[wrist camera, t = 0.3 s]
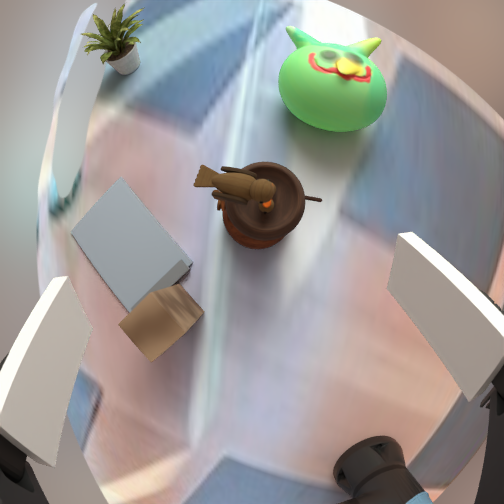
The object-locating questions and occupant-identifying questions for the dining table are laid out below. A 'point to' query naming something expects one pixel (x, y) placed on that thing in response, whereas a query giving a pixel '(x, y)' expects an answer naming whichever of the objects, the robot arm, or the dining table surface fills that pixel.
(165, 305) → the brown rectangular block
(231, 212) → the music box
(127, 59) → the house plant
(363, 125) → the green rounded lump
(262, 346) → the dining table surface
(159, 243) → the mat
